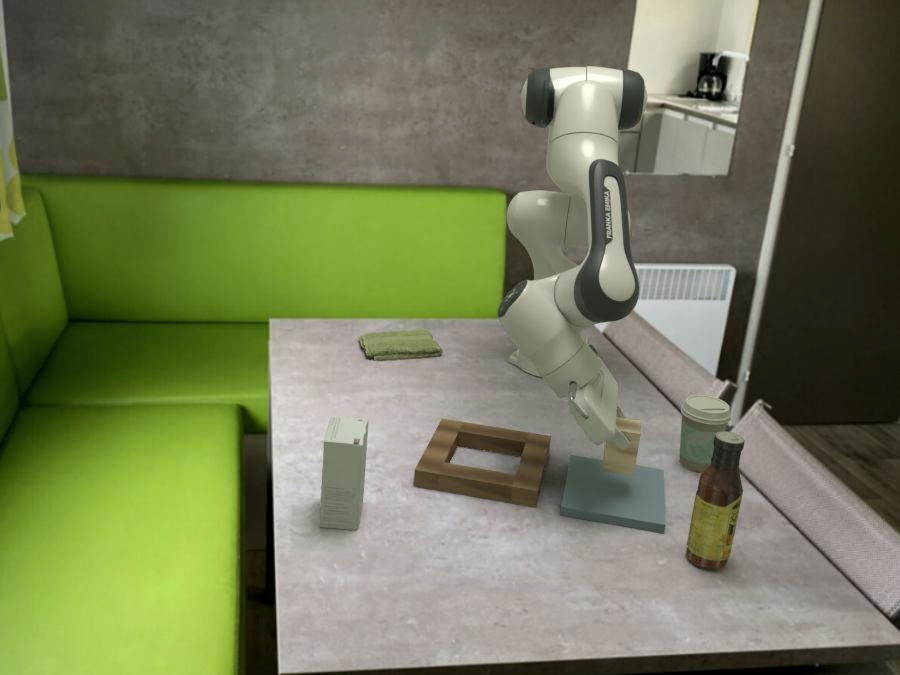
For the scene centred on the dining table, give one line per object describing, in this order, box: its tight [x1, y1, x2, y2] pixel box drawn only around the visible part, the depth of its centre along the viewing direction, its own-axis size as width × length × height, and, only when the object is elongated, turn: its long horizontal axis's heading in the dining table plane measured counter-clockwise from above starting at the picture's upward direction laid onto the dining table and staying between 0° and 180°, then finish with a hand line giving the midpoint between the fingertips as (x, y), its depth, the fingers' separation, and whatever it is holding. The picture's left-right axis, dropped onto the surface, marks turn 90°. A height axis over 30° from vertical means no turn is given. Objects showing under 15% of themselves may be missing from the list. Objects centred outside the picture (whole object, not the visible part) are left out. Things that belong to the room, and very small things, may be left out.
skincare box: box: [319, 415, 369, 531], centre depth 129 cm, size 8×6×15 cm
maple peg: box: [602, 417, 642, 476], centre depth 140 cm, size 5×5×8 cm
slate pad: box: [559, 454, 666, 534], centre depth 143 cm, size 18×16×2 cm
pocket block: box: [413, 417, 552, 508], centre depth 148 cm, size 20×20×3 cm
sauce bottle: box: [685, 430, 745, 571], centre depth 125 cm, size 7×6×20 cm
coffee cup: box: [678, 394, 732, 473], centre depth 154 cm, size 9×9×12 cm
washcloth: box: [358, 328, 444, 362], centre depth 197 cm, size 13×18×3 cm
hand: (627, 437), depth 139 cm, fingers closed on maple peg, 5 cm apart
